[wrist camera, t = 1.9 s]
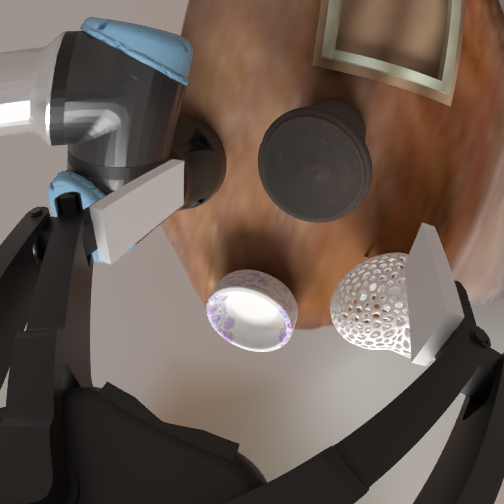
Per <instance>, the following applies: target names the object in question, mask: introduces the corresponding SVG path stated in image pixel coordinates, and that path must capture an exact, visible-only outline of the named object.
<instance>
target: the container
mask: <svg viewBox="0 0 504 504" xmlns="http://www.w3.org/2000/svg"><path fill="white" fill-rule="evenodd" d="M365 133H366V131H365V126H364V122H363V119H362V117H361V115H360V114H359V112H358V111H357V110H356V109H355V108H354V107H353V106H351V105H350V104H348V103H346V102H344V101H340V100H326V101H323V102H320V103H318V104H317V105H315V106H313V107H302V108H297V109H294V110H291V111H289V112H287V113H285V114H283V115H281V116H280V117H279V118H277V119H276V120H275V121H274V122H273V123H272V124H271V125H270V127H269V128H268V130H267V131H266V133H265V135H264V137H263V140H262V143H261V145H260V149H259V154H258V169H259V175H260V179H261V182H262V184H263V187H264V189H265V190H266V192H267V194H268V196H269V197H270V198H271V200H272V201H273V202H274V203H275V204H276V205H277V206H278V207H279V208H280V209H282V210H283V211H284V212H286V213H287V214H289V215H291V216H293V217H295V218H297V219H300V220H304V221H308V222H315V223H317V222H318V223H320V222H330V221H334V220H337V219H340V218H342V217H344V216H346V215H348V214H349V213H351V212H352V211H353V210H355V209H356V208H357V207H358V206H359V204H360V203H361V202H362V201H363V199H364V198H365V196H366V194H367V192H368V190H369V187H370V183H371V178H372V163H371V158H370V154H369V151H368V148H367V146H366V144H365V137H366V136H365Z"/></svg>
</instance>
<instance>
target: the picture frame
mask: <svg viewBox="0 0 504 504" xmlns="http://www.w3.org/2000/svg"><path fill="white" fill-rule="evenodd" d="M464 15H465V0H321V5H320V12H319V20H318V27H317V34H316V42H315V49H314V56H313V62H312V66H313V67H319V68H324V69H329V70H334V71H338V72H343V73H347V74H352V75H356V76H360V77H364V78H367V79H371V80H375V81H378V82H382V83H385V84H389V85H392V86H395V87H398V88H402V89H405V90H408V91H411V92H413V93H416V94H419V95H422V96H425V97H427V98H430V99H433V100H435V101H438V102H440V103H443V104H445V105H448V106H451V103H452V98H453V93H454V88H455V83H456V78H457V72H458V66H459V60H460V53H461V45H462V37H463V27H464Z"/></svg>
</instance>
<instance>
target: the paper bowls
mask: <svg viewBox="0 0 504 504" xmlns="http://www.w3.org/2000/svg"><path fill="white" fill-rule="evenodd" d="M206 311H207V316H208V319H209V321H210V323H211V325H212V326H213V328H214V329H215V330H216V331H217V332H218V334H220V335H221V336H222V337H223V338H224V339H226V340H227V341H228V342H230V343H232V344H234V345H236V346H238V347H240V348H243V349H246V350H250V351H257V352H267V351H272V350H276V349H278V348H280V347H282V346H283V345H285V344H286V343H287V342H288V341H289V340H290V338H291V336H292V333H293V330H294V327H295V324H296V320H297V316H298V306H297V303H296V300H295V298H294V296H293V294H292V292H291V291H290V290H289V289H288V287H286V286H285V284H283V283H282V282H281V281H280V280H278V279H276V278H274V277H272V276H271V275H269V274H266V273H264V272H260V271H256V270H249V269H248V270H247V269H246V270H238V271H234V272H231V273H229V274H227V275H226V276H224V277H223V278H222V279H221V280H220V282H219V283H218V284H217V286H216V287H215V289H214V290H213V292H212V293H211V295H210V296H209V298H208V301H207V306H206Z"/></svg>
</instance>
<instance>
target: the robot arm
mask: <svg viewBox="0 0 504 504" xmlns="http://www.w3.org/2000/svg"><path fill="white" fill-rule="evenodd" d="M81 29H82V31H68V32H67V31H66V32H62V33H61V34H60V35H59V36H58V37H56V39H54V40H53V41H52V42H51V43H50V44H48V45H47V46H45V47H42V48H32V49H23V50H16V51H9V52H3V53H0V136H4V135H12V134H20V133H29V132H35V133H37V134H38V135H39V136H40V137H41V138H42V139H43V140H44V141H45V142H46V143H47V144H48V145H49V146H54V145H68V166H67V170H66V171H62V172H60V173H58V174H57V176H56V177H55V178H54V179H53V181H52V182H51V183H50V186H49V190H48V200H49V205H50V209H51V212H52V215H53V217H50V214H49V209H48V208H47V207H36V208H33V210H31V211H29V212H28V213H27V214H26V215H25V216H24V218H22V220H21V221H20V222H19V223H18V224H17V225H16V227H15V228H14V229H13V231H11V233H10V234H9V235H8V236H7V238H6V239H5V240H4V241H3V243H2V244H1V245H0V389H1V387H2V385H3V383H4V380H5V377H6V375H7V372H8V370H9V367H10V370H9V379H8V388H7V400H6V407H3V408H0V504H354V503H355V502H356V501H358V500H359V499H360V498H361V497H362V496H364V495H365V494H366V493H367V492H368V491H369V487H370V486H371V485H372V484H373V483H374V482H376V481H377V480H378V479H379V478H380V477H382V476H383V475H384V474H385V473H386V472H387V471H388V470H390V469H391V467H393V466H394V465H395V464H396V463H397V462H398V461H399V460H400V459H401V458H402V457H403V456H404V455H405V454H406V453H407V452H408V451H409V450H410V449H411V448H412V447H413V446H414V445H415V444H416V443H417V442H418V441H419V440H420V439H421V438H422V437H423V436H424V435H425V434H426V433H427V432H428V431H429V429H430V428H431V427H432V426H433V425H434V424H435V423H436V421H437V420H438V419H439V418H440V417H441V416H442V414H443V413H444V412H445V411H446V410H447V408H448V407H449V406H450V405H451V403H452V402H453V401H454V400H455V398H456V397H457V396H458V394H459V393H460V392H461V393H463V394H465V395H466V397H465V400H464V403H463V405H462V408H461V410H460V413H459V416H458V418H457V420H456V423H455V425H454V428H453V430H452V432H451V435H450V437H449V439H448V441H447V443H446V445H445V447H444V449H443V451H442V454H441V455H440V457H439V459H438V461H437V463H436V465H435V467H434V469H433V471H432V472H431V474H430V476H429V478H428V480H427V481H426V483H425V485H424V486H423V488H422V490H421V492H420V493H419V495H418V496H417V498H416V500H415V501H414V503H413V504H494V502H495V500H496V497H497V495H498V492H499V490H500V487H501V484H502V481H503V478H504V353H503V354H500V353H499V352H497V351H495V350H494V349H492V348H490V346H491V343H490V339H489V337H488V336H487V334H486V333H485V332H484V330H482V329H481V328H480V327H478V326H476V322H475V319H474V316H473V312H472V308H471V307H470V306H471V305H470V302H469V300H468V295H467V292H466V290H465V289H464V287H463V286H462V284H461V283H460V282H458V281H455V280H454V279H453V276H452V273H451V270H450V267H449V264H448V261H447V258H446V255H445V252H444V249H443V247H442V244H441V241H440V239H439V236H438V234H437V231H436V229H435V227H434V226H431V225H428V224H425V223H422V224H421V226H420V229H419V231H418V234H417V236H416V239H415V241H414V243H413V246H412V248H411V250H410V253H409V255H408V257H407V259H406V262H405V264H404V273H405V281H406V290H407V300H408V311H409V325H410V343H411V362H412V363H415V364H419V365H424V366H428V365H429V364H430V362H431V361H432V360H433V359H434V357H435V362H434V363H433V364H432V365H431V366H430V367H429V368H428V369H427V370H426V371H425V372H424V373H423V374H422V375H420V376H419V377H418V378H417V379H416V380H415V381H414V382H413V383H412V384H411V385H410V386H409V387H408V388H407V389H405V390H404V391H403V392H402V393H401V394H400V395H399V396H398V397H397V398H395V399H394V400H393V401H392V402H391V403H389V404H388V405H387V406H386V407H385V408H384V409H383V410H381V411H380V412H379V413H377V414H376V415H375V416H374V417H372V418H371V419H370V420H369V421H367V422H366V423H365V424H363V425H362V426H361V427H359V428H358V429H357V430H355V431H354V432H353V433H352V434H350V435H349V436H347V437H346V438H344V439H343V440H342V441H340V442H339V443H337V444H335V445H334V446H330V447H329V448H327V449H325V450H324V451H322V452H320V453H319V454H317V455H316V456H314V457H312V458H311V459H309V460H308V461H306V462H304V463H303V464H301V465H299V466H297V467H296V468H294V469H293V470H291V471H289V472H287V473H285V474H283V475H282V476H280V477H278V478H276V479H274V480H272V481H270V482H268V483H267V481H266V479H265V478H264V476H263V474H262V473H261V472H260V470H259V469H258V468H257V467H256V466H255V465H254V464H253V463H252V462H251V461H250V460H249V459H247V458H246V457H245V456H244V455H242V454H241V453H239V452H238V448H239V444H238V443H235V442H232V441H230V440H227V439H224V438H221V437H219V436H217V435H214V434H211V433H209V432H207V431H204V430H200V429H194V428H189V427H184V426H179V425H174V424H169V423H165V422H163V421H161V420H160V419H159V418H157V417H156V416H155V415H154V414H152V412H150V411H149V410H148V409H147V408H146V407H145V406H144V405H143V404H142V403H141V402H139V401H138V400H137V399H136V398H135V397H133V396H131V395H130V394H128V393H126V392H124V391H123V390H121V389H119V388H117V387H116V386H114V385H112V384H111V383H109V382H107V383H106V384H105V385H104V387H103V388H97V387H93V384H92V380H91V366H90V305H91V304H90V303H91V286H92V271H93V260H94V261H97V262H102V263H108V264H112V263H114V262H115V261H116V260H117V259H119V258H120V257H121V256H123V255H124V254H126V253H127V252H129V251H131V250H133V249H134V248H135V246H136V244H137V243H139V242H140V241H141V240H142V239H143V238H144V237H146V236H147V235H148V234H149V233H150V232H152V231H153V230H154V229H155V228H156V227H157V226H159V225H160V224H161V223H162V222H163V221H165V220H166V219H167V218H168V217H169V216H171V215H172V214H173V213H174V212H176V211H180V210H185V209H190V208H194V207H197V206H200V205H202V204H203V203H205V202H206V201H208V200H209V199H210V198H211V197H212V196H213V195H215V194H216V192H217V191H218V190H219V188H220V187H221V185H222V183H223V180H224V177H225V172H226V158H225V153H224V149H223V147H222V144H221V142H220V140H219V138H218V137H217V135H216V134H215V132H214V131H213V130H212V129H211V128H210V127H209V126H208V125H207V124H205V123H204V122H202V121H201V120H199V119H197V118H195V117H192V116H188V115H179V112H180V108H181V104H182V100H183V97H184V93H185V89H186V86H187V85H188V84H189V80H188V77H189V72H190V68H191V63H192V58H193V53H194V51H193V46H192V44H191V43H190V42H189V40H187V39H186V38H184V37H182V36H179V35H176V34H173V33H169V32H166V31H162V30H158V29H154V28H150V27H146V26H142V25H137V24H132V23H127V22H121V21H115V20H108V19H101V18H94V17H90V18H87V19H86V20H85V21H84V23H83V24H82V25H81ZM33 247H34V250H35V254H34V255H33ZM27 322H28V323H27ZM26 324H27V329H26V331H24V329H25V326H26Z"/></svg>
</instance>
